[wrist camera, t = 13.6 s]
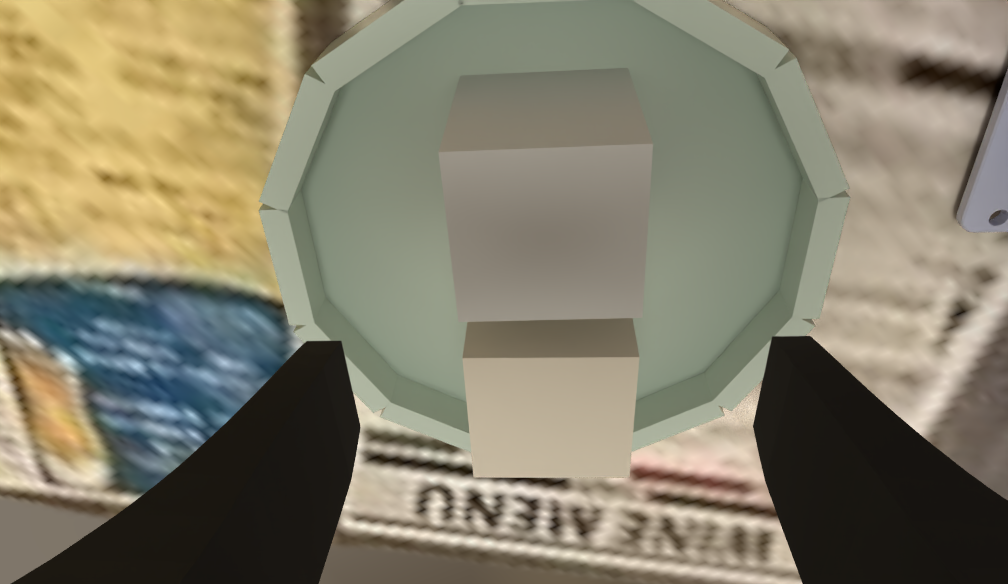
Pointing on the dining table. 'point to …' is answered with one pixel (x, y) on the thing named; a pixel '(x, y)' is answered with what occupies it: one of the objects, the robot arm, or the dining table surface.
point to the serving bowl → (672, 208)
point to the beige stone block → (551, 397)
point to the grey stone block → (547, 195)
